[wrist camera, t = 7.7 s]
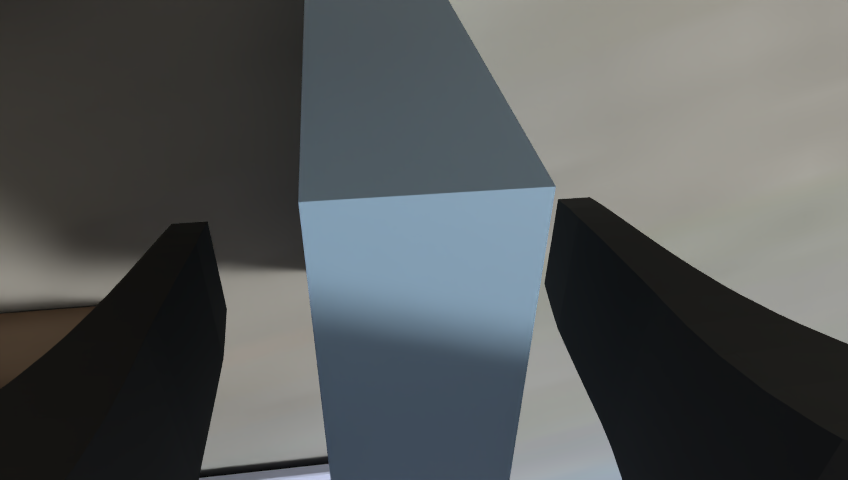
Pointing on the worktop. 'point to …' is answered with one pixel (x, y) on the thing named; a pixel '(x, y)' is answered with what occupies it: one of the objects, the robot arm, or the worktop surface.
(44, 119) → the worktop surface
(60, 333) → the rack
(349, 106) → the panel
